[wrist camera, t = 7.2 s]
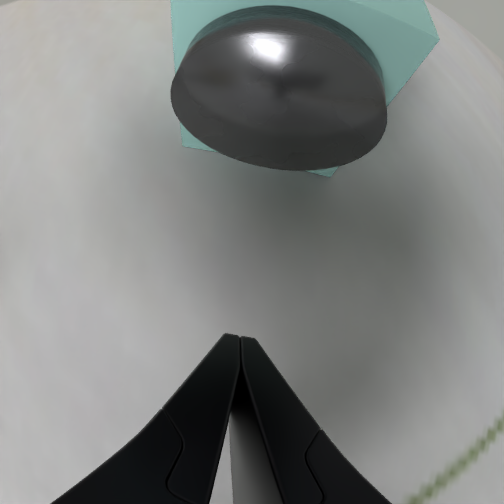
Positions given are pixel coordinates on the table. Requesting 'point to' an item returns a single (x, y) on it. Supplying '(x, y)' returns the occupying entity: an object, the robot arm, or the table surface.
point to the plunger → (281, 89)
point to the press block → (343, 11)
